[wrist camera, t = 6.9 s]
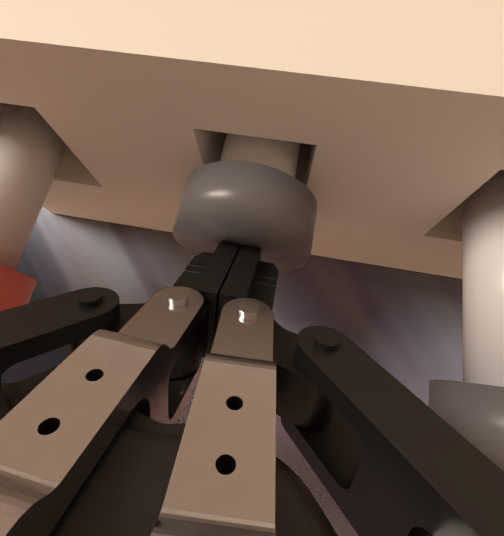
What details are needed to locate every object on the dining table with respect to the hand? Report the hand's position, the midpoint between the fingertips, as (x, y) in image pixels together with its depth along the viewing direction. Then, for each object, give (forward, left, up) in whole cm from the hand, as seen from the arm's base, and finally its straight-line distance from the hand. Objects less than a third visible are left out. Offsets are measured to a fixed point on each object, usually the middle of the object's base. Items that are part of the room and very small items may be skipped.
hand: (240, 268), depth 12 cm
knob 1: (+2, +4, -2) cm, 6 cm away
